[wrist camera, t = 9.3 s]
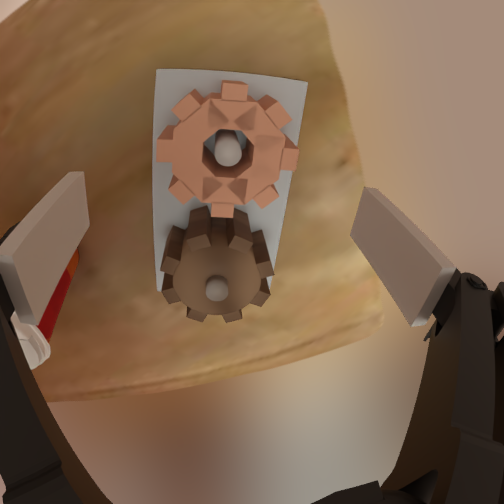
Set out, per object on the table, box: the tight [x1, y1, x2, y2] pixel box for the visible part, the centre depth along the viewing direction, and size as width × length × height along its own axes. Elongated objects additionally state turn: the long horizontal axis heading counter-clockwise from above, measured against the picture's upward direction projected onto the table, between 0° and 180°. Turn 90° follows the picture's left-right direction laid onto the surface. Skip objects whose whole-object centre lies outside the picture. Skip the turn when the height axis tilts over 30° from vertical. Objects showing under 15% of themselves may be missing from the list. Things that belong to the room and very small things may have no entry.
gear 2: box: [160, 205, 274, 323], centre depth 28 cm, size 10×10×6 cm
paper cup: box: [10, 248, 79, 369], centre depth 25 cm, size 8×8×14 cm
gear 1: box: [156, 80, 300, 218], centre depth 22 cm, size 10×10×5 cm
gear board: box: [152, 69, 308, 291], centre depth 26 cm, size 12×22×7 cm, turn 173°
